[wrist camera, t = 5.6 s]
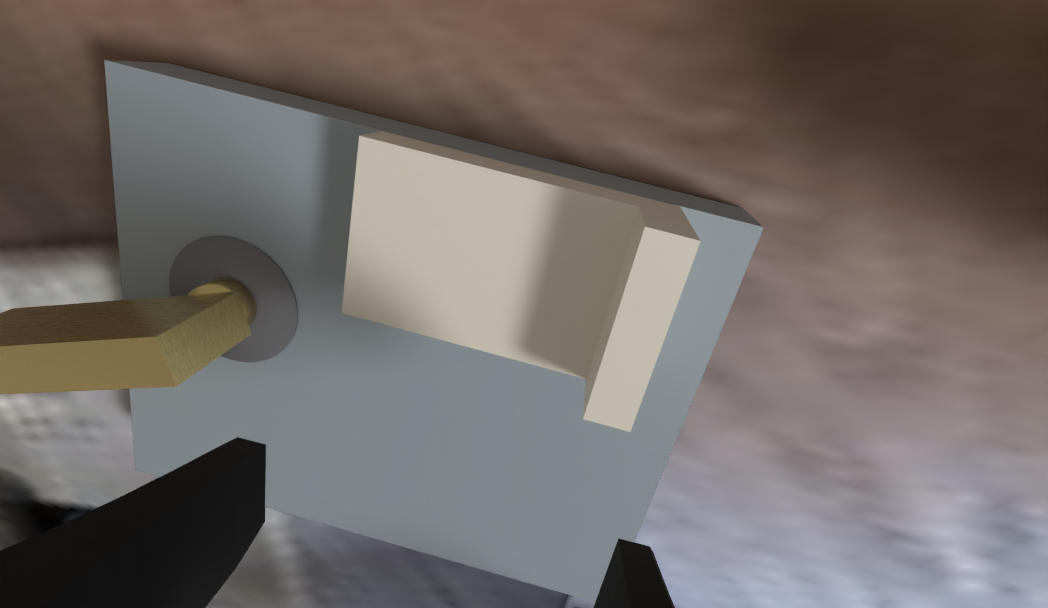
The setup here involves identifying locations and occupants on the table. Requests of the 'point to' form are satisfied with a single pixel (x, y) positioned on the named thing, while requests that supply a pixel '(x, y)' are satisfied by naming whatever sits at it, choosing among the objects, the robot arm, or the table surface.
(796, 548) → the table surface
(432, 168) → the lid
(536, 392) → the grey flat rectangular board
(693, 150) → the table surface
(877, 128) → the table surface
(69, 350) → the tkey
